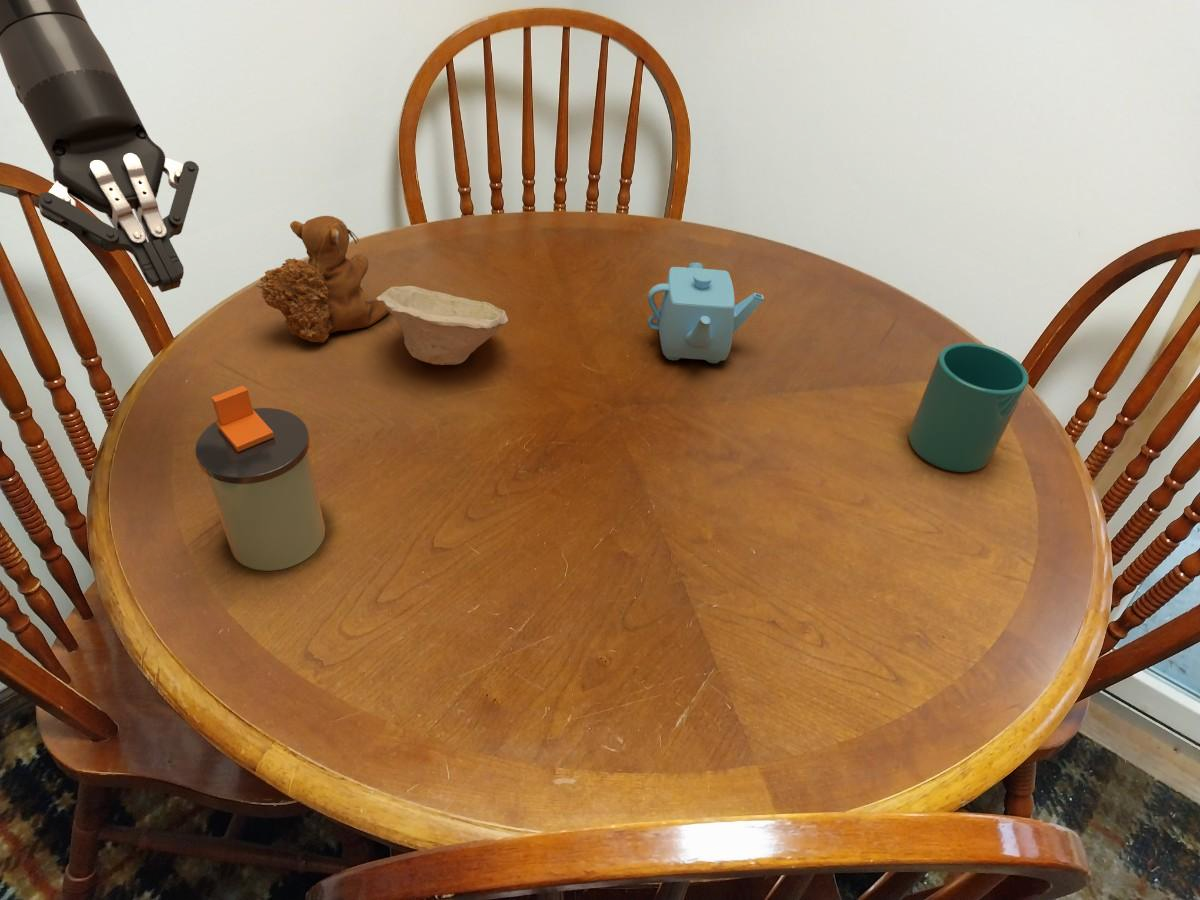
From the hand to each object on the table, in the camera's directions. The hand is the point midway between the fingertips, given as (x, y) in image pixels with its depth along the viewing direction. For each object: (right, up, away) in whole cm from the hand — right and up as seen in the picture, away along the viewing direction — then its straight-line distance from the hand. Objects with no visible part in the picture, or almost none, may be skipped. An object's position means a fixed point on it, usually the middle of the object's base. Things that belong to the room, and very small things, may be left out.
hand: (171, 286), depth 71 cm
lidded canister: (+6, -22, +8) cm, 24 cm away
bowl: (+17, -2, +32) cm, 37 cm away
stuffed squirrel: (+2, +2, +35) cm, 36 cm away
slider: (+6, -12, +1) cm, 13 cm away
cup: (+75, -13, +26) cm, 80 cm away
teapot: (+48, -1, +37) cm, 61 cm away
